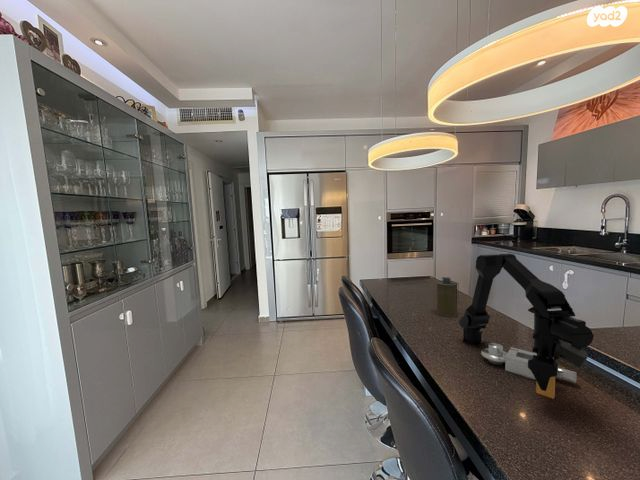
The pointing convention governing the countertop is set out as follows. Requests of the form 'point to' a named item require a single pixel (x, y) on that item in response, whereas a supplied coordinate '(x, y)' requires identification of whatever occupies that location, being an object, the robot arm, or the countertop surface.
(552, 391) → the wedge
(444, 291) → the canister
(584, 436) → the countertop surface
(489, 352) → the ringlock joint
